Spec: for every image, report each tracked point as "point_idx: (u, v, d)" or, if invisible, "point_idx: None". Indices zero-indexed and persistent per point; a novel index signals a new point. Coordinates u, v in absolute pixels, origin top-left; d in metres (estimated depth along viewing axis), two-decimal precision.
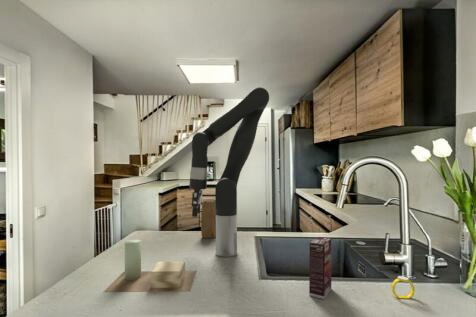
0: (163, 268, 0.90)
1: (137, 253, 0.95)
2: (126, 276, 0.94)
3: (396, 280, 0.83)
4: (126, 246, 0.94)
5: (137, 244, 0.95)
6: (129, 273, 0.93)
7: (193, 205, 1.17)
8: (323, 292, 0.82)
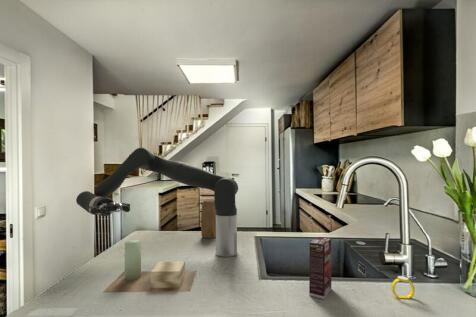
0: (163, 268, 0.90)
1: (137, 253, 0.95)
2: (126, 276, 0.94)
3: (396, 280, 0.83)
4: (126, 246, 0.94)
5: (137, 244, 0.95)
6: (129, 273, 0.93)
7: (92, 212, 1.05)
8: (323, 292, 0.82)
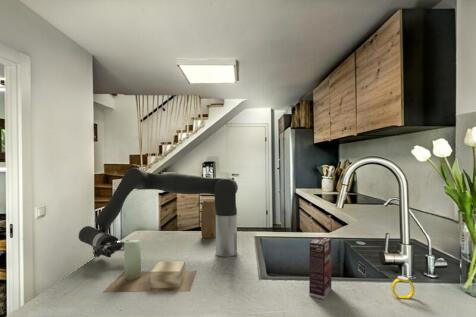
0: (163, 268, 0.90)
1: (137, 253, 0.95)
2: (126, 276, 0.94)
3: (396, 280, 0.83)
4: (126, 246, 0.94)
5: (137, 244, 0.95)
6: (129, 273, 0.93)
7: (96, 254, 1.01)
8: (323, 292, 0.82)
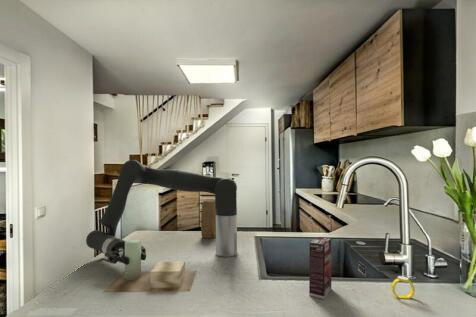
0: (163, 268, 0.90)
1: (137, 253, 0.95)
2: (126, 276, 0.94)
3: (396, 280, 0.83)
4: (126, 246, 0.94)
5: (137, 244, 0.95)
6: (130, 273, 0.93)
7: (113, 261, 0.94)
8: (323, 292, 0.82)
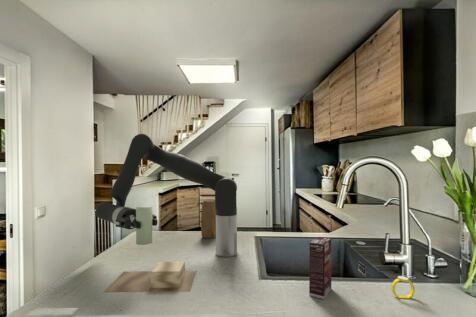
0: (163, 268, 0.90)
1: (149, 218, 0.94)
2: (138, 241, 0.93)
3: (396, 280, 0.83)
4: (138, 211, 0.93)
5: (149, 209, 0.94)
6: (141, 238, 0.92)
7: (124, 225, 0.93)
8: (323, 292, 0.82)
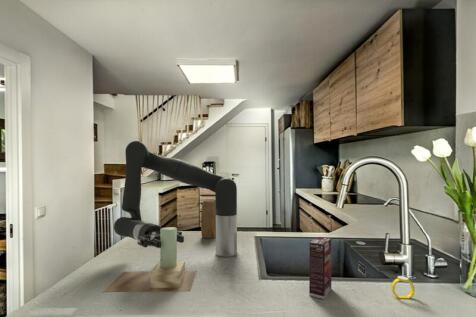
0: None
1: (174, 241, 0.91)
2: (162, 264, 0.90)
3: (396, 280, 0.83)
4: (162, 233, 0.91)
5: (174, 231, 0.91)
6: (166, 261, 0.90)
7: (144, 244, 0.90)
8: (323, 292, 0.82)
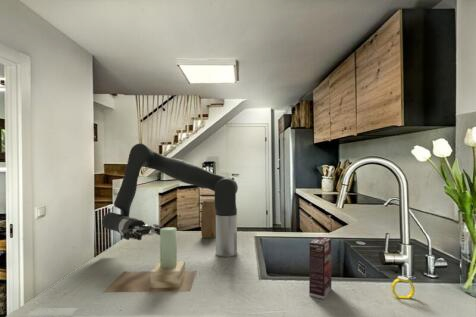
0: None
1: (174, 241, 0.91)
2: (162, 265, 0.90)
3: (396, 280, 0.83)
4: (162, 233, 0.90)
5: (173, 231, 0.91)
6: (166, 262, 0.90)
7: (126, 237, 0.99)
8: (323, 292, 0.82)
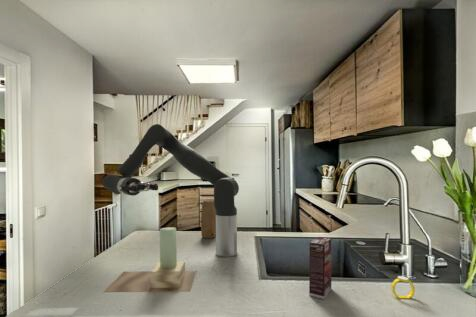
0: None
1: (173, 241, 0.91)
2: (162, 265, 0.90)
3: (396, 280, 0.83)
4: (162, 233, 0.90)
5: (173, 231, 0.91)
6: (166, 262, 0.90)
7: (124, 190, 1.10)
8: (323, 292, 0.82)
